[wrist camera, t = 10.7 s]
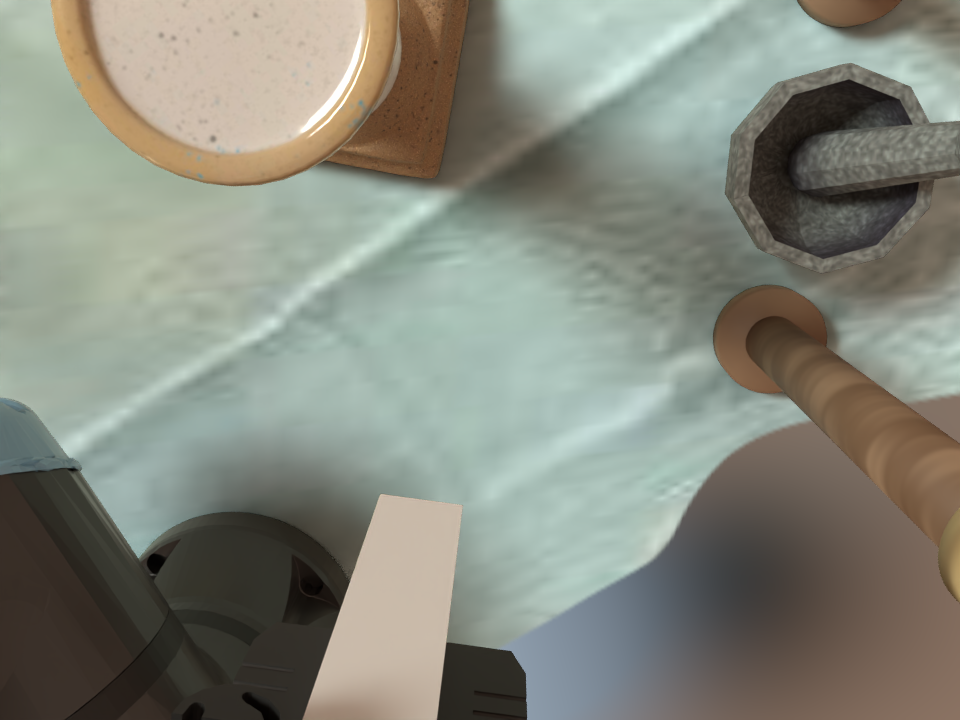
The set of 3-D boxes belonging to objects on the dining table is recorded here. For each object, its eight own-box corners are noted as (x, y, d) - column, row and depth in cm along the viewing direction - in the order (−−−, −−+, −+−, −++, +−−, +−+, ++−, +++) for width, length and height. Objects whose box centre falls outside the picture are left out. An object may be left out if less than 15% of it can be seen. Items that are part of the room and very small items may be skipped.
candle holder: (474, -27, 48) (442, -165, 25) (439, 180, 50) (379, 231, 27) (270, -68, 47) (43, -244, 24) (246, 142, 50) (22, 163, 27)
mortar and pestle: (720, 269, 51) (783, 313, 40) (685, 104, 49) (741, 100, 37) (920, 216, 50) (1045, 245, 39) (893, 44, 48) (1017, 21, 36)
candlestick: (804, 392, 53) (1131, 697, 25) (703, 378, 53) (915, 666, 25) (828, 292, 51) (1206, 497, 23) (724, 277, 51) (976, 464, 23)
